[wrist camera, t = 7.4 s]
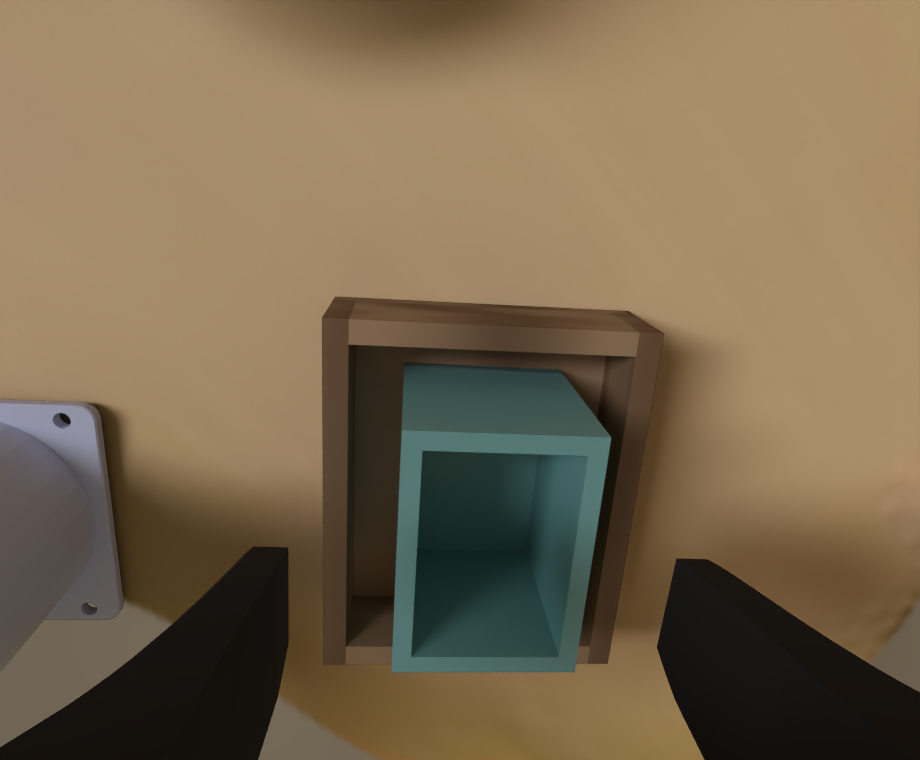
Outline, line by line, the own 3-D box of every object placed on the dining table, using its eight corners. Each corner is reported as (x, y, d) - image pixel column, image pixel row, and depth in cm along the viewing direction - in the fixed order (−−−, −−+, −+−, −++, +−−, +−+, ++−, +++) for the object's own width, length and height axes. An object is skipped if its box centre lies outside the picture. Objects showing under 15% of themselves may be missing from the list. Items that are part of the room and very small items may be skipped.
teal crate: (396, 553, 22) (391, 671, 17) (404, 362, 20) (402, 430, 14) (536, 555, 22) (574, 672, 17) (559, 369, 20) (611, 437, 15)
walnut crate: (334, 603, 23) (323, 664, 20) (335, 296, 19) (322, 318, 16) (584, 604, 24) (607, 663, 21) (628, 311, 20) (663, 333, 17)
